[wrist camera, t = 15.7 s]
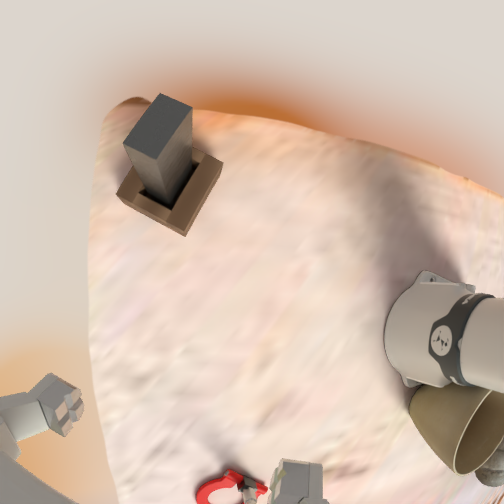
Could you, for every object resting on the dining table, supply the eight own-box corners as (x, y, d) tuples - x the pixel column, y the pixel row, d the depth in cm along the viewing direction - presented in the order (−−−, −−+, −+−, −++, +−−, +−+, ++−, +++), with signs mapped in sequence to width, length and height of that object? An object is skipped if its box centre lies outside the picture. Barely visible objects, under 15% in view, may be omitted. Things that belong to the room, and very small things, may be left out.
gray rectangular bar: (192, 175, 36) (192, 107, 21) (171, 209, 36) (156, 160, 20) (171, 164, 36) (159, 93, 20) (150, 198, 35) (122, 143, 20)
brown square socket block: (220, 175, 38) (223, 162, 34) (185, 236, 37) (184, 231, 32) (160, 145, 37) (157, 129, 33) (124, 203, 35) (115, 194, 31)
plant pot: (408, 357, 41) (483, 379, 26) (460, 364, 43) (525, 380, 28) (377, 441, 39) (437, 485, 23) (433, 437, 41) (490, 466, 26)
